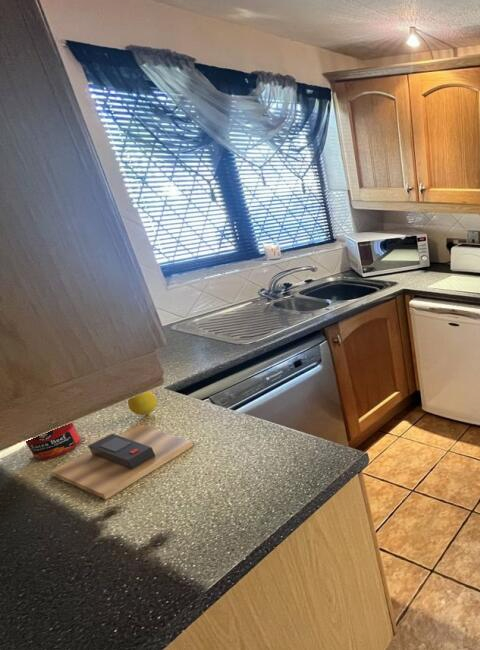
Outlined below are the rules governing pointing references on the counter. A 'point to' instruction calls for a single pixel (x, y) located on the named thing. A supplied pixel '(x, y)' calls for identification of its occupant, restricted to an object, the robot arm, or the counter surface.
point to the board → (113, 477)
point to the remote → (121, 451)
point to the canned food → (54, 442)
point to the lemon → (143, 403)
